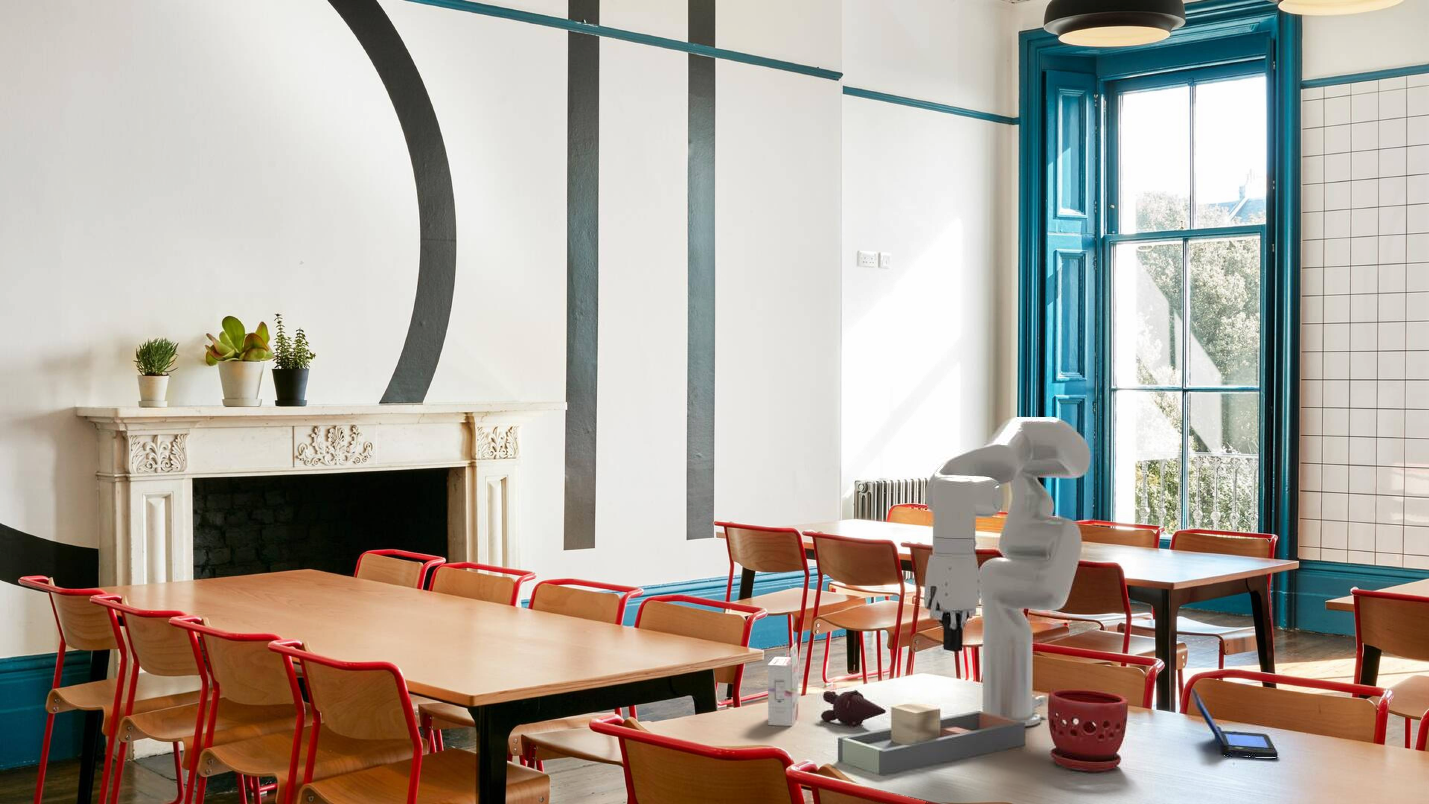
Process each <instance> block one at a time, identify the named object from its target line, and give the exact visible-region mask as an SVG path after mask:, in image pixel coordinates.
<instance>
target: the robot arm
mask: <svg viewBox="0 0 1429 804" xmlns="http://www.w3.org/2000/svg"><path fill="white" fill-rule="evenodd" d="M1090 465H1091V451H1090V448H1089V445H1088V442H1087V441H1086V440H1085V438H1084V437H1083V436H1082V435H1081V434H1080V433H1079V432H1077V430H1076V429H1075V428H1074V427H1073V426H1071V424H1069V423H1068V422H1066V421H1064V420H1062V419H1061V418H1058V417H1039V416H1038V417H1036V416H1035V417H1025V416H1023V417H1022V416H1020V417H1013V418H1009V419H1007V420H1005V421H1004V422H1003V423H1001V425H1000V426H999V427H997V429H996V430H995V432H994V433H993V434H992V435H991V437H990V438H989V439H988V440H987V441H986V442H985V444H983V446H980V447H977V448H974V449H972V450H970V451H967V452H964V453H962V454H960V455H957V456H954V457H952V458H951V459H948V460H947V461H945V462H943V463H941V465H939V467H938V468H937V470H935V472H934V473H933V474H932V476H931V477H930V478H929V481H927V484H926V487H925V492H924V501H925V505H926V507H927V509H928V510H929V511H930V512H931V513H932V554H929V556H928V561H927V565H926V570H925V571H926V572H925V580H924V581H925V582H924V590H923V591H924V592H923V593H924V594H923V597H924V598H923V604H924V608H925V609H926V610H928V611H929V610H930V611H929V618H930V619H934V620H938V622H939V624H940V627H941V628H943V629H942V632H943V635H942V636H943V637H942V638H943V640H942V641H943V642H942V645H943V646H942V648H943V650H944V651H949V652H953V653H956V652H962V651H963V650H964V649H963V646H964V645H963V641H964V640H963V638H964V637H963V634H964V633H963V632H964V629H965V627H966V625H967V621H968V619H969V618H971V617H973V616H975V615H976V614H977V608H978V607H979V606H981V615H982V708H979V709H976V711H980V712H984V713H988V714H992V715H996V716H1000V717H1004V718H1008V719H1012V720H1017V721H1021V722H1025V727H1031V726H1036V725H1038V724H1039V723H1041V715H1040V714H1039V713H1038V712H1036V709H1037V708H1038V707H1042V706H1046V705H1048V697H1046V696H1045V695H1039V696H1036V695H1033V649H1034V648H1033V647H1034V645H1033V644H1034V643H1033V640H1034V639H1033V637H1034V636H1033V629H1032V626H1031V623H1030V621H1029V619H1028V618H1027V616H1026V615H1025V613H1024V611H1023V610H1024V609H1028V610H1038V611H1039V610H1040V611H1058V610H1061V609H1062V608H1063V607H1064V606H1065V605H1066V603H1067V601H1068V599H1069V596H1070V594H1071V589H1072V586H1073V582H1074V579H1075V576H1076V573H1077V572H1076V571H1077V569H1078V565H1079V562H1080V558H1081V553H1082V547H1083V546H1082V545H1083V544H1082V543H1083V542H1082V532H1081V529H1080V527H1079V524H1078V523H1076V522H1075V521H1074V520H1072V519H1070V518H1066V517H1061V516H1060V517H1058V516H1057V517H1056V516H1053V513H1054V511H1055V503H1054V500H1053V498H1052V496H1051V495H1050V493H1049V492H1048V490H1047V489H1046V488H1045V487H1044V485H1042V484H1041V482H1040V481H1039V480H1038V478H1050V479H1051V478H1053V479H1055V478H1056V479H1078V478H1081V477H1083V476H1084V475H1085V474H1086V473H1087V471H1088V470H1089V468H1090ZM1007 483H1009V486H1010V491H1011V501H1010V506H1009V508H1008V511H1007V514H1006V517H1005V520H1004V523H1003V526H1002V529H1001V532H1000V537H999V541H998V549H999V552H1000V554H1001V555H1002V557H993V558H989V559H987V560H986V561H984V562H983V563H982V564H981V566H980V567H979V564H978V562H979V561H978V558H977V554H976V547H977V541H976V520H977V519H976V518H979V519H980V518H981V519H985V518H986V519H987V518H993V517H994V516H996V515H998V514H999V512H1001V510H1002V509H1003V506H1004V503H1005V491H1004V488H1003V486H1002V485H1004V484H1007ZM980 604H981V605H980ZM1022 609H1023V610H1022Z"/></svg>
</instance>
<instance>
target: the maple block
mask: <svg viewBox="0 0 1429 804" xmlns="http://www.w3.org/2000/svg"><path fill="white" fill-rule="evenodd" d="M890 708H891V709H890V710H891V711H890V712H891V713H890V728H891V741H892V742H896V743H899V744H903V745H906V744H911V743H916V742H921V741H926V740H931V739H936V738H940V718H941V708H940V707H935V706H931V705H926V704H923V703H921V702H920V703H919V702H910V703H905V704H899V705H892V706H891V707H890Z"/></svg>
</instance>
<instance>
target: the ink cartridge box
mask: <svg viewBox="0 0 1429 804" xmlns="http://www.w3.org/2000/svg"><path fill="white" fill-rule="evenodd" d="M789 655H790V657H789V656H786V657H785V656H774V657H773V658H772V660H771V661H769V663H767V694H768V695H767V698H768V699H767V705H768V706H767V708H768V710H767V712H768V721H767V722H768V726H780V727H781V726H782V727H783V726H784V727H792V726H793V725H794V724H795V722H796V720H797V719H798V717H799V651H798V643H797V642H794V644H793V645H792V646H791V648H790V650H789Z"/></svg>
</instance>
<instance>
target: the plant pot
mask: <svg viewBox="0 0 1429 804" xmlns="http://www.w3.org/2000/svg"><path fill="white" fill-rule="evenodd" d="M1128 710H1129V702H1128V700H1127V698H1125V697H1123V696H1121V695H1118V694H1114V693H1111V692H1105V691H1098V690H1090V689H1089V690H1088V689H1072V688H1071V689H1069V688H1068V689H1056V690H1053V691H1051V692H1048V697H1047V719H1048V728H1049V734H1050V736H1051V739H1052V742H1053V745H1054V747H1053V748H1052V749H1051V750H1050V751H1049V752H1050V756H1051V759H1053V761H1054V762H1055V763H1056V764H1058V765H1060V766H1062V767H1064V768H1067V769H1069V770H1071V771H1081V772H1082V771H1083V772H1105V771H1109V770H1112V769H1115V768H1116V767H1117V766H1118V765H1119V764H1120V763H1121V762H1122V761H1121V760H1122V757H1121V755H1120V754H1119V753H1118V752H1119V750H1120V748H1121V746H1122V744H1123V741H1124V739H1125V735H1126V729H1127V724H1128V723H1127V721H1128V713H1129V712H1128ZM1075 719H1077V720H1078V721H1077V723H1074V720H1075ZM1064 721H1065V722H1064Z"/></svg>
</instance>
